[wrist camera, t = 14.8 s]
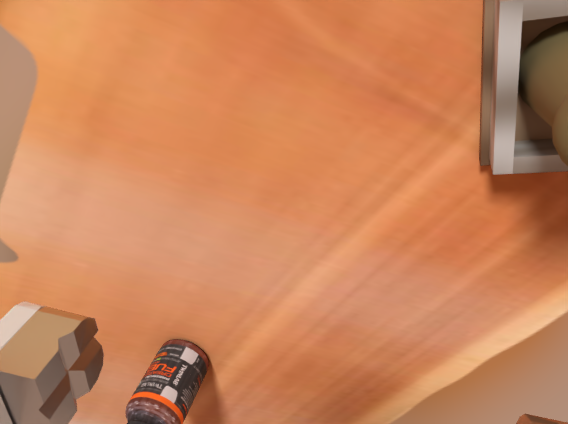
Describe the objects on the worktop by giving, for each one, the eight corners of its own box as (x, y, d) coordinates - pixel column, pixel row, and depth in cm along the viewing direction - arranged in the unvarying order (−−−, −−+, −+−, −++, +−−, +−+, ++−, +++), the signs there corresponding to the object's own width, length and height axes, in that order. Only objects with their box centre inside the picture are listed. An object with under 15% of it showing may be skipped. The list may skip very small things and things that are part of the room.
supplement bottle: (189, 330, 55) (141, 420, 45) (220, 366, 57) (180, 459, 47) (151, 343, 57) (99, 430, 48) (182, 377, 59) (138, 466, 50)
